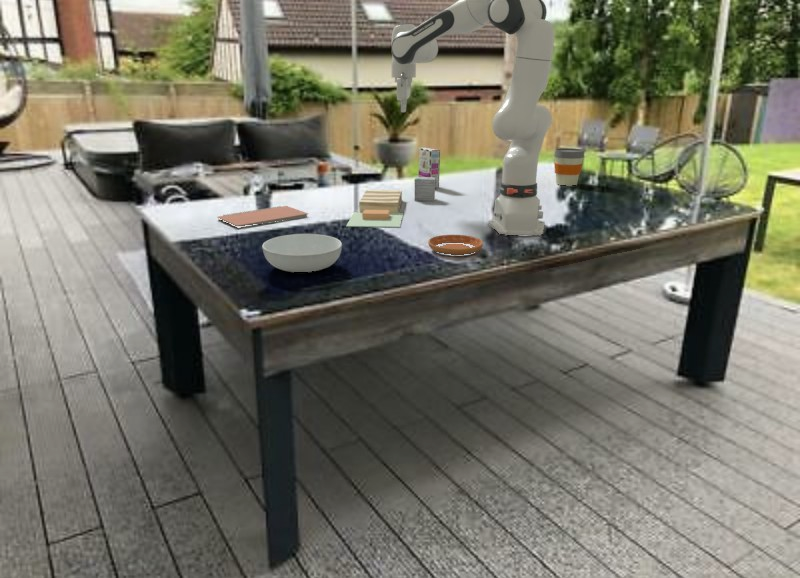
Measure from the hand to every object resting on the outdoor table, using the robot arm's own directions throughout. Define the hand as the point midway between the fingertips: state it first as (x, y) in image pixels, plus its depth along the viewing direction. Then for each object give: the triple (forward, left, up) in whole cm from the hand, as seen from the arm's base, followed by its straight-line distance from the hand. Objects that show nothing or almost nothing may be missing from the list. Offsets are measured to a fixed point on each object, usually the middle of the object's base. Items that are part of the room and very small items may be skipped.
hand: (403, 111), depth 233 cm
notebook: (-28, +48, -35) cm, 66 cm away
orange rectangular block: (-25, +8, -32) cm, 41 cm away
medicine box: (+6, -8, -34) cm, 36 cm away
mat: (-28, +8, -34) cm, 45 cm away
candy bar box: (+33, -9, -34) cm, 48 cm away
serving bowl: (-82, +22, -34) cm, 92 cm away
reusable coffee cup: (+42, -70, -34) cm, 89 cm away
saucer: (-63, -19, -35) cm, 74 cm away
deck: (-7, +8, -34) cm, 36 cm away
